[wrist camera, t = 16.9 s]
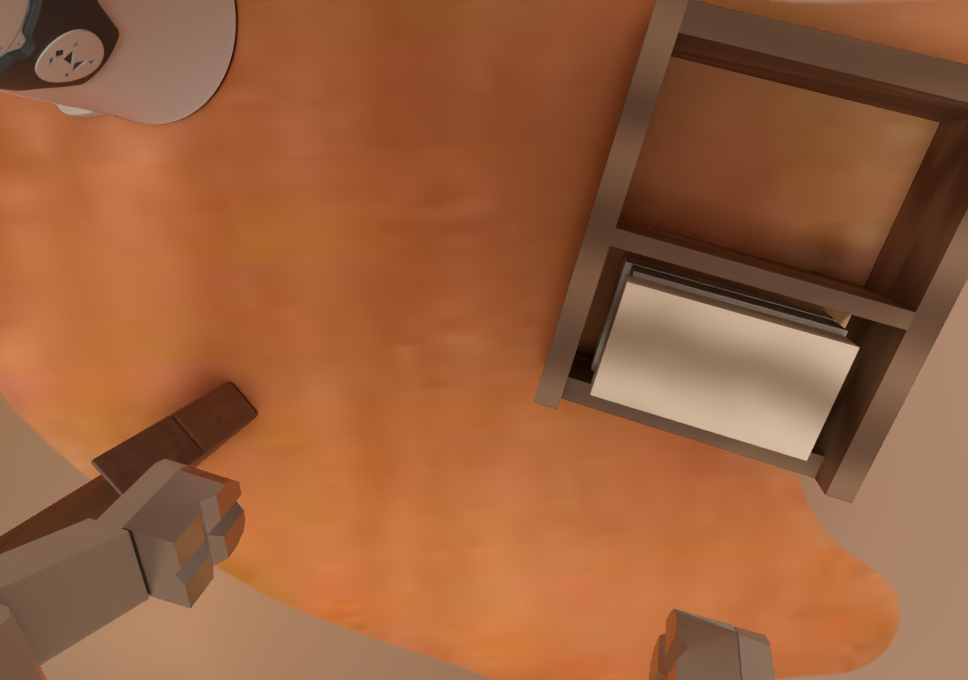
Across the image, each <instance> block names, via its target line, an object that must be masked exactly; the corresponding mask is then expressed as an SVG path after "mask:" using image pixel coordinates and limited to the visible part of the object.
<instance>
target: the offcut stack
mask: <svg viewBox="0 0 968 680" xmlns="http://www.w3.org/2000/svg"><path fill="white" fill-rule="evenodd" d="M847 333H848V331H847V330H846V329H845V328H843V327H842V326H841V325H839V324H838V323H836V320H835V319H834V318H832V317H831V316H830V315H828V314H827V313H825V312H824V311H820V310H817V309H813V308H809V307H806V306H802V305H799V304H795V303H791V302H788V301H784V300H781V299H777V298H773V297H770V296H766V295H763V294H759V293H755V292H752V291H748V290H744V289H741V288H737V287H734V286H730V285H726V284H723V283H719V282H716V281H712V280H708V279H705V278H701V277H698V276H694V275H690V274H687V273H683V272H680V271H676V270H672V269H669V268H665V267H662V266H658V265H654V264H651V263H647V262H644V261H640V260H636V259H633V258H629V257H626V256H625V258H624V261H623V264H622V267H621V270H620V273H619V277H618V280H617V283H616V286H615V289H614V292H613V295H612V298H611V301H610V304H609V308H608V311H607V314H606V317H605V320H604V323H603V326H602V329H601V332H600V335H599V339H598V342H597V345H596V348H595V351H594V354H593V357H592V362H591V370H593V371H595V372H594V375H593V378H592V382H591V392H590V395H592V396H595V397H599V398H602V399H605V400H609V401H612V402H615V403H618V404H622V405H625V406H628V407H632V408H635V409H638V410H641V411H645V412H648V413H651V414H654V415H658V416H661V417H664V418H668V419H671V420H674V421H677V422H681V423H684V424H687V425H690V426H694V427H697V428H700V429H704V430H707V431H710V432H713V433H717V434H720V435H723V436H726V437H730V438H733V439H736V440H740V441H743V442H746V443H749V444H753V445H756V446H759V447H763V448H766V449H769V450H772V451H776V452H779V453H782V454H785V455H789V456H792V457H795V458H799V459H802V460H805V461H807V460H808V457H809V455H810V453H811V451H812V449H813V447H814V444H815V442H816V440H817V438H818V436H819V434H820V432H821V429H822V427H823V425H824V423H825V421H826V419H827V417H828V414H829V412H830V410H831V408H832V406H833V404H834V402H835V399H836V397H837V395H838V393H839V391H840V389H841V387H842V384H843V382H844V380H845V378H846V376H847V374H848V372H849V369H850V367H851V365H852V363H853V361H854V359H855V357H856V354H857V352H858V350H859V348H860V347H858V346H857V345H856V344H854V343H853V342H852V341H850V340H849V339H848V338H846V335H847Z"/></svg>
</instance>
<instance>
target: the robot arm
mask: <svg viewBox="0 0 968 680" xmlns="http://www.w3.org/2000/svg"><path fill="white" fill-rule="evenodd" d="M235 32H236V13H235V3H234V0H0V92H5V93H9V94H13V95H18V96H22V97H26V98H31V99H35V100H40V101H44V102H49V103H54V104H56V106H57V107H58V108H59V109H60V110H61V111H62V112H63V113H65V114H67V115H71V116H75V117H81V118H87V117H95V116H101V115H106V114H108V115H113V116H117V117H120V118H124V119H127V120H130V121H133V122H137V123H143V124H165V123H170V122H174V121H177V120H180V119H182V118H185V117H187V116H189V115H190V114H192V113H194V112H195V111H196V110H198V109H199V108H200V107H202V106H203V105H204V104H205V103H206V102H207V101H208V100H209V99H210V98H211V96H212V95H213V94H214V93H215V91H216V90H217V88H218V87H219V85H220V83H221V81H222V80H223V78H224V76H225V73H226V71H227V69H228V66H229V63H230V60H231V56H232V52H233V47H234V41H235ZM240 495H241V490H240V485H239V482H237V481H234V480H231V479H228V478H225V477H222V476H219V475H216V474H212V473H209V472H206V471H203V470H200V469H197V468H194V467H190V466H188V465H184V464H181V463H178V462H174V461H171V460H168V459H163V460H161V461H159V462H157V463H155V464H154V465H153V466H152V467H151V468H150V469H149V470H147V471H146V472H145V473H144V474H143V475H142V476H141V477H140V478H139V479H138V480H137V481H136V482H135V483H134V484H133V485H132V486H131V487H130V488H129V489H128V490H127V491H126V492H125V493H124V494H123V495H122V496H121V497H119V498H118V499H117V500H116V501H115V502H114V503H113V504H112V505H111V506H110V507H109V508H108V509H107V510H106V511H105V512H104V513H103V514H102V515H101V516H100V517H99V518H98V519H97V520H93V519H90V518H88V519H86V520H84V521H81V522H79V523H76V524H74V525H71V526H69V527H66V528H64V529H61V530H59V531H56V532H54V533H51V534H49V535H47V536H44V537H42V538H39V539H37V540H34V541H32V542H29V543H27V544H24V545H22V546H19V547H17V548H14V549H12V550H9V551H7V552H5V553H2V554H0V680H47V679H46V677H45V675H44V673H43V671H42V669H41V667H40V665H41V664H43V663H44V662H46V661H48V660H49V659H51V658H53V657H54V656H56V655H58V654H59V653H61V652H62V651H64V650H66V649H67V648H69V647H71V646H72V645H74V644H76V643H77V642H79V641H80V640H82V639H84V638H85V637H87V636H89V635H90V634H92V633H94V632H95V631H97V630H98V629H100V628H102V627H103V626H105V625H107V624H108V623H110V622H112V621H113V620H115V619H116V618H118V617H120V616H121V615H123V614H124V613H126V612H128V611H129V610H131V609H133V608H134V607H136V606H138V605H139V604H141V603H142V602H144V601H146V600H147V599H149V596H152V597H155V598H158V599H162V600H165V601H168V602H171V603H175V604H178V605H181V606H185V607H188V608H191V607H192V606H193V605H194V603H195V602H196V600H197V599H198V598H199V597H200V595H201V594H202V593H203V591H204V590H205V589H206V587H207V586H208V585H209V583H210V582H211V581H212V579H213V566H214V565H216V564H218V563H220V562H222V561H224V560H226V559H228V558H229V556H230V555H231V554H232V552H233V551H234V549H235V548H236V547H237V545H238V543H239V540H240V538H241V536H242V533H243V531H244V524H245V515H244V510H243V509H242V508H241V506H240V505H239V504H238V503H237V501H236V500H237V499H238V498H239V497H240ZM649 680H775V677H774V670H773V663H772V655H771V648H770V642H769V641H768V639H767V637H766V636H765V635H763V634H759V633H756V632H752V631H748V630H745V629H741V628H738V627H733V626H732V625H731V624H727V623H723V622H720V621H716V620H713V619H709V618H705V617H702V616H698V615H695V614H691V613H687V612H684V611H680V610H677V609H673V610H672V611H671V612H670V613H669V616H668V618H667V620H666V633H665V634H663V635H660V636H659V637H658V640H657V642H656V645H655V647H654V651H653V655H652V659H651V664H650V673H649Z"/></svg>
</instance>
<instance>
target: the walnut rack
mask: <svg viewBox="0 0 968 680" xmlns="http://www.w3.org/2000/svg"><path fill="white" fill-rule="evenodd" d="M671 56H673V57H677V58H681V59H685V60H689V61H693V62H697V63H701V64H705V65H709V66H713V67H717V68H722V69H726V70H730V71H734V72H738V73H742V74H746V75H750V76H754V77H758V78H762V79H766V80H770V81H774V82H778V83H782V84H786V85H790V86H795V87H799V88H803V89H807V90H811V91H815V92H819V93H823V94H827V95H831V96H835V97H839V98H843V99H847V100H851V101H855V102H859V103H863V104H868V105H872V106H876V107H880V108H884V109H888V110H892V111H896V112H900V113H904V114H908V115H912V116H916V117H920V118H924V119H928V120H932V121H936V122H941V123H940V125H939V127H938V129H937V131H936V134H935V136H934V138H933V140H932V142H931V144H930V147H929V149H928V151H927V153H926V155H925V157H924V159H923V162H922V164H921V166H920V168H919V170H918V172H917V175H916V177H915V179H914V181H913V183H912V185H911V188H910V190H909V192H908V194H907V196H906V198H905V201H904V203H903V205H902V207H901V209H900V211H899V214H898V216H897V218H896V220H895V222H894V224H893V227H892V229H891V231H890V233H889V235H888V237H887V239H886V242H885V244H884V246H883V248H882V250H881V252H880V255H879V257H878V259H877V261H876V263H875V265H874V268H873V270H872V272H871V274H870V276H869V278H868V281H867V283H866V285H865V287H863V286H859V285H856V284H852V283H848V282H845V281H841V280H838V279H834V278H831V277H827V276H823V275H820V274H816V273H813V272H809V271H805V270H802V269H798V268H795V267H791V266H787V265H784V264H780V263H777V262H773V261H770V260H766V259H762V258H759V257H755V256H752V255H748V254H744V253H741V252H737V251H734V250H730V249H726V248H723V247H719V246H716V245H712V244H709V243H705V242H701V241H698V240H694V239H691V238H687V237H683V236H680V235H676V234H673V233H669V232H665V231H662V230H658V229H655V228H651V227H648V226H644V225H640V224H637V223H633V222H630V221H626V220H622V219H619V216H620V213H621V210H622V206H623V203H624V200H625V197H626V194H627V191H628V188H629V185H630V181H631V178H632V175H633V172H634V169H635V166H636V163H637V160H638V157H639V153H640V150H641V147H642V144H643V141H644V138H645V135H646V132H647V128H648V125H649V122H650V119H651V116H652V113H653V110H654V107H655V104H656V100H657V97H658V94H659V91H660V88H661V85H662V82H663V79H664V75H665V72H666V69H667V66H668V63H669V60H670V57H671ZM610 246H612V247H616V248H619V249H623V250H626V251H630V252H633V253H637V254H640V255H644V256H647V257H651V258H654V259H658V260H661V261H665V262H668V263H672V264H676V265H679V266H683V267H686V268H690V269H693V270H697V271H700V272H704V273H707V274H711V275H714V276H718V277H721V278H725V279H728V280H732V281H735V282H739V283H742V284H746V285H749V286H753V287H756V288H760V289H763V290H767V291H771V292H774V293H778V294H781V295H785V296H788V297H792V298H795V299H799V300H802V301H806V302H809V303H813V304H816V305H820V306H823V307H827V308H830V309H834V310H837V311H841V312H844V313H848V314H851V317H850V319H849V322H848V324H847V326H846V328H845V329H846V330H847V331H848V333H847V335H846V338H848V339H849V340H850V341H852V342H853V343H854V344H856V345H857V346H858V347H860V348H859V350H858V352H857V354H856V357H855V359H854V361H853V363H852V365H851V367H850V369H849V372H848V374H847V376H846V378H845V380H844V382H843V384H842V387H841V389H840V391H839V393H838V395H837V397H836V399H835V402H834V404H833V406H832V408H831V410H830V412H829V414H828V417H827V419H826V421H825V423H824V425H823V427H822V429H821V432H820V434H819V436H818V438H817V440H816V442H815V444H814V447H813V449H812V451H811V453H810V455H809V457H808V460H807V461H805V460H802V459H799V458H795V457H792V456H789V455H785V454H782V453H779V452H776V451H772V450H769V449H766V448H763V447H759V446H756V445H753V444H749V443H746V442H743V441H740V440H736V439H733V438H730V437H726V436H723V435H720V434H717V433H713V432H710V431H707V430H704V429H700V428H697V427H694V426H690V425H687V424H684V423H681V422H677V421H674V420H671V419H668V418H664V417H661V416H658V415H654V414H651V413H648V412H645V411H641V410H638V409H635V408H632V407H628V406H625V405H622V404H618V403H615V402H612V401H609V400H605V399H602V398H599V397H595V396H592V395H590V392H591V382H592V378H593V375H594V372H595V371H593V370H591V362H592V360H591V359H588V358H585V357H581V356H578V355H575V353H576V350H577V347H578V344H579V340H580V337H581V334H582V331H583V328H584V325H585V322H586V319H587V316H588V312H589V309H590V306H591V303H592V300H593V297H594V294H595V291H596V287H597V284H598V281H599V278H600V275H601V272H602V269H603V266H604V263H605V259H606V256H607V253H608V250H609V247H610ZM967 279H968V65H965V64H961V63H956V62H952V61H948V60H944V59H939V58H935V57H931V56H927V55H922V54H918V53H914V52H910V51H905V50H901V49H897V48H893V47H888V46H884V45H880V44H876V43H871V42H867V41H863V40H859V39H854V38H850V37H846V36H842V35H837V34H833V33H829V32H825V31H820V30H816V29H812V28H808V27H803V26H799V25H795V24H791V23H787V22H782V21H778V20H774V19H770V18H765V17H761V16H757V15H753V14H748V13H744V12H740V11H736V10H731V9H727V8H723V7H719V6H714V5H710V4H706V3H702V2H697V1H693V0H656V3H655V6H654V10H653V13H652V16H651V20H650V23H649V26H648V29H647V33H646V36H645V39H644V42H643V46H642V49H641V52H640V56H639V59H638V62H637V65H636V69H635V72H634V75H633V78H632V82H631V85H630V88H629V91H628V95H627V98H626V101H625V105H624V108H623V111H622V114H621V118H620V121H619V124H618V127H617V131H616V134H615V137H614V140H613V144H612V147H611V150H610V154H609V157H608V160H607V163H606V167H605V170H604V173H603V176H602V180H601V183H600V186H599V190H598V193H597V196H596V199H595V203H594V206H593V209H592V212H591V216H590V219H589V222H588V225H587V229H586V232H585V235H584V239H583V242H582V245H581V248H580V252H579V255H578V258H577V261H576V265H575V268H574V271H573V275H572V278H571V281H570V284H569V288H568V291H567V294H566V297H565V301H564V304H563V307H562V310H561V314H560V317H559V320H558V324H557V327H556V330H555V333H554V337H553V340H552V343H551V346H550V350H549V353H548V356H547V360H546V363H545V366H544V369H543V373H542V376H541V379H540V382H539V386H538V389H537V392H536V395H535V399H534V403H538V404H541V405H544V406H547V407H550V408H553V409H556V410H557V409H558V406H559V403H560V400H561V398H562V399H565V400H568V401H571V402H574V403H578V404H581V405H584V406H587V407H590V408H593V409H597V410H600V411H603V412H606V413H609V414H613V415H616V416H619V417H622V418H625V419H628V420H632V421H635V422H638V423H641V424H644V425H647V426H651V427H654V428H657V429H660V430H663V431H666V432H670V433H673V434H676V435H679V436H682V437H686V438H689V439H692V440H695V441H698V442H701V443H705V444H708V445H711V446H714V447H717V448H720V449H724V450H727V451H730V452H733V453H736V454H739V455H743V456H746V457H749V458H752V459H755V460H758V461H762V462H765V463H768V464H771V465H774V466H778V467H781V468H784V469H787V470H790V471H793V472H797V473H800V474H803V475H806V476H809V477H813V478H815V479H816V481H817V482H818V484H819V486H820V487H821V489H822V490H823V492H824V493H825V495H827V496H831V497H834V498H837V499H840V500H843V501H847V502H849V503H852V502H853V500H854V498H855V496H856V494H857V492H858V490H859V488H860V486H861V485H862V483H863V481H864V479H865V477H866V475H867V473H868V471H869V469H870V467H871V465H872V463H873V461H874V459H875V457H876V455H877V453H878V452H879V450H880V448H881V446H882V443H883V441H884V440H885V438H886V436H887V434H888V432H889V430H890V428H891V426H892V424H893V422H894V420H895V418H896V417H897V414H898V413H899V411H900V409H901V407H902V405H903V403H904V401H905V399H906V397H907V395H908V393H909V391H910V389H911V387H912V385H913V384H914V382H915V379H916V378H917V376H918V374H919V372H920V370H921V368H922V366H923V364H924V362H925V360H926V358H927V356H928V354H929V352H930V351H931V348H932V347H933V344H934V343H935V341H936V339H937V337H938V335H939V333H940V331H941V329H942V327H943V325H944V323H945V321H946V319H947V318H948V316H949V314H950V312H951V310H952V308H953V306H954V304H955V302H956V300H957V298H958V296H959V294H960V292H961V290H962V288H963V286H964V284H965V283H966V281H967Z"/></svg>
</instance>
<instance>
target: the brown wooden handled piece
mask: <svg viewBox="0 0 968 680" xmlns="http://www.w3.org/2000/svg"><path fill="white" fill-rule="evenodd" d="M256 415H257V413H256V411H255V410H254V409H253V408H252V407H251V405H250V404H249V403H248V402H247V401H246V400H245V398H244V397H243V396H242V395H241V394H240V392H239V391H238V390H237V389H236V388H235V387H234V385H233V384H231V383H225V384H223V385H222V386H220V387H218V388H216V389H215V390H213V391H211V392H209V393H208V394H206V395H204V396H203V397H201V398H199V399H197V400H196V401H194V402H192V403H190V404H189V405H187V406H185V407H183V408H182V409H180V410H178V411H176V412H175V413H173V414H171V415H170V416H168V417H166V418H164V419H163V420H161V421H159V422H157V423H156V424H154V425H152V426H150V427H149V428H147V429H145V430H143V431H142V432H140V433H138V434H137V435H135V436H133V437H131V438H130V439H128V440H126V441H124V442H123V443H121V444H119V445H117V446H116V447H114V448H112V449H110V450H109V451H107V452H105V453H103V454H102V455H100V456H98V457H97V458H95V459H93V460H92V461H91V462H92V465H93V466H94V467H95V468H96V469H97V470H98V471H99V472H100V473H101V475H100V476H98V477H96V478H95V479H93V480H92V481H90V482H88V483H87V484H85V485H83V486H82V487H80V488H79V489H77V490H75V491H74V492H72V493H70V494H69V495H67V496H65V497H64V498H62V499H61V500H59V501H57V502H56V503H54V504H52V505H51V506H49V507H47V508H46V509H44V510H43V511H41V512H39V513H38V514H36V515H35V516H33V517H31V518H30V519H28V520H26V521H25V522H23V523H21V524H20V525H18V526H16V527H15V528H13V529H12V530H10V531H8V532H7V533H5V534H3V535H2V536H0V554H2V553H5V552H7V551H9V550H12V549H14V548H17V547H19V546H22V545H24V544H27V543H29V542H32V541H34V540H37V539H39V538H42V537H44V536H47V535H49V534H51V533H54V532H56V531H59V530H61V529H64V528H66V527H69V526H71V525H74V524H76V523H79V522H81V521H84V520H86V519H88V518H90V519H93V520H97V519H98V518H99V517H100V516H101V515H102V514H103V513H104V512H105V511H106V510H107V509H108V508H109V507H110V506H111V505H112V504H113V503H114V502H115V501H116V500H117V499H118V498H119V497H121V496H122V495H123V494H124V493H125V492H126V491H127V490H128V489H129V488H130V487H131V486H132V485H133V484H134V483H135V482H136V481H137V480H138V479H139V478H140V477H141V476H142V475H143V474H144V473H145V472H146V471H147V470H149V469H150V468H151V467H152V466H153V465H154V464H155V463H157V462H159V461H161V460H163V459H168V460H171V461H174V462H178V463H181V464H184V465H188V466H190V467H196V466H197V465H198V464H199V463H201V462H202V461H203V460H204V459H205V458H207V457H208V456H209V455H210V454H212V453H213V452H214V451H215V450H216V449H218V448H219V447H220V446H221V445H223V444H224V443H225V442H226V441H227V440H228V439H230V438H231V437H232V436H234V435H235V434H236V433H237V432H238V431H240V430H241V429H242V428H243V427H245V426H246V425H247V424H248V423H249V422H251V421H252V420H253V419H254V418H255V417H256Z"/></svg>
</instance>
